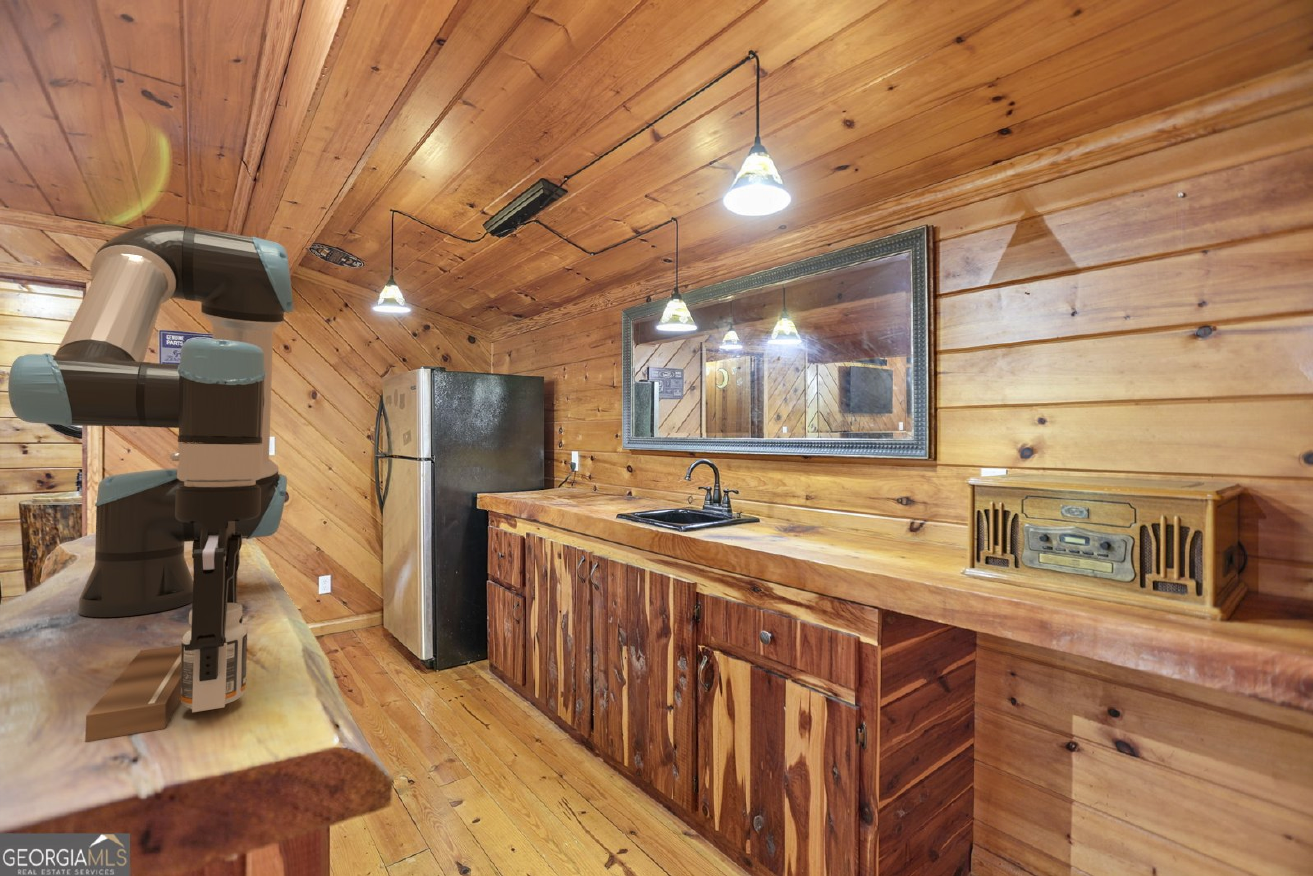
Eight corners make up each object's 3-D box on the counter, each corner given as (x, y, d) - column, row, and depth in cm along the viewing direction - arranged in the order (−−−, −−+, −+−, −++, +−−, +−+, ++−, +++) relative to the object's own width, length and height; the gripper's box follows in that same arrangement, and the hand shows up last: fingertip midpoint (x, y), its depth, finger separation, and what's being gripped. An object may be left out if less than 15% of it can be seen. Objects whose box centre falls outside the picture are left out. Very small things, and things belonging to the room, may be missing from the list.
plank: (140, 670, 75) (141, 649, 75) (199, 662, 78) (200, 642, 78) (85, 741, 58) (86, 714, 58) (164, 728, 61) (165, 702, 61)
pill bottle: (203, 689, 68) (205, 601, 68) (256, 688, 68) (259, 601, 68) (166, 712, 62) (169, 615, 62) (225, 711, 63) (227, 615, 63)
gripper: (193, 478, 72) (187, 672, 71) (155, 490, 55) (147, 743, 55) (267, 477, 75) (262, 662, 75) (252, 489, 59) (245, 726, 59)
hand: (213, 696), depth 65 cm, fingers closed on pill bottle, 6 cm apart
